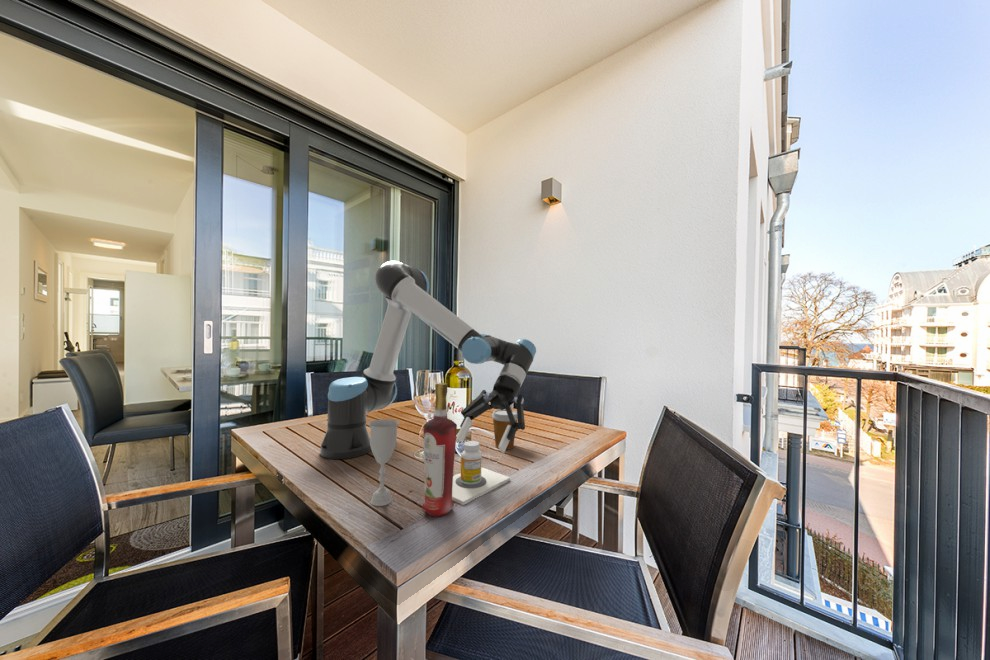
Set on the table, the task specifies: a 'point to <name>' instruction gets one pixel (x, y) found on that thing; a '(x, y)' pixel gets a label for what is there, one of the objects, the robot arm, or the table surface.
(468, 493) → the cream rectangular slab
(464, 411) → the robot arm
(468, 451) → the supplement bottle
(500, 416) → the disposable coffee cup
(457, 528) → the table surface
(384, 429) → the chalice
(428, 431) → the liquor
